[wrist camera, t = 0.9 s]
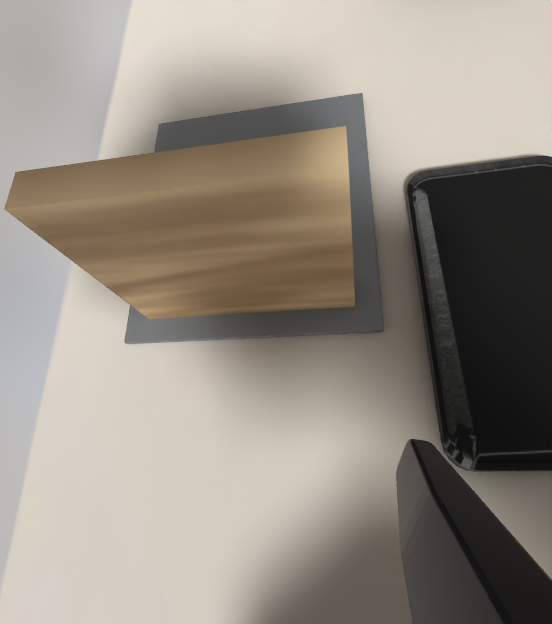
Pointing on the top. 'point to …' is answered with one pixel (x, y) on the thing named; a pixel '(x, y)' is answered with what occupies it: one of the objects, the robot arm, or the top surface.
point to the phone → (488, 308)
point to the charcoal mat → (363, 234)
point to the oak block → (205, 224)
